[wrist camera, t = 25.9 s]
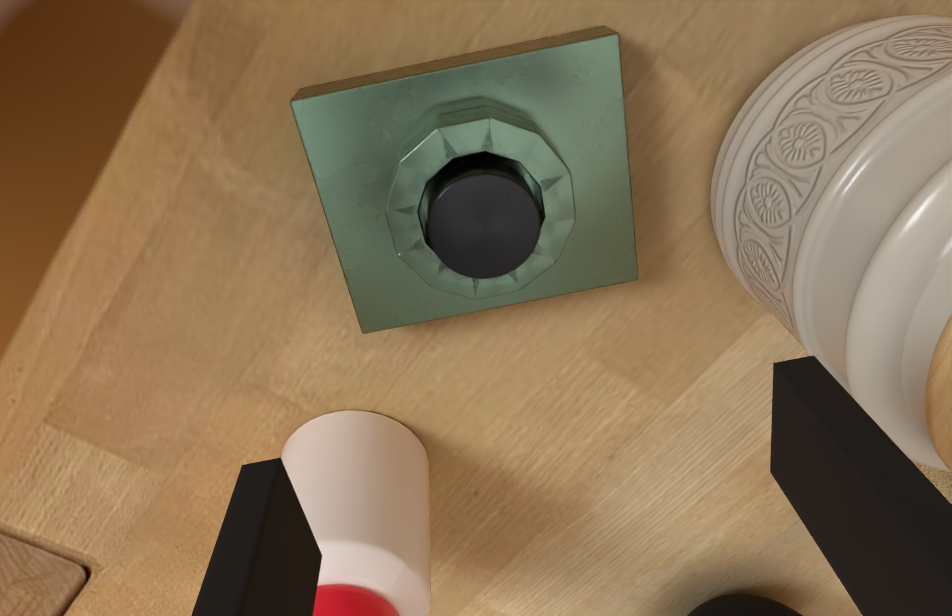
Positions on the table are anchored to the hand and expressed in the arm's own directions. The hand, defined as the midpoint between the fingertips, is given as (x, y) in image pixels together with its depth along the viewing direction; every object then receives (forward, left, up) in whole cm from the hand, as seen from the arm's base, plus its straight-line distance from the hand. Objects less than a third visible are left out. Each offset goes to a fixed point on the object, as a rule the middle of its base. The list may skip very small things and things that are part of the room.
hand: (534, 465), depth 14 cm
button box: (0, 0, -18) cm, 18 cm away
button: (0, 0, -14) cm, 14 cm away
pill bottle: (-9, -14, -18) cm, 24 cm away
